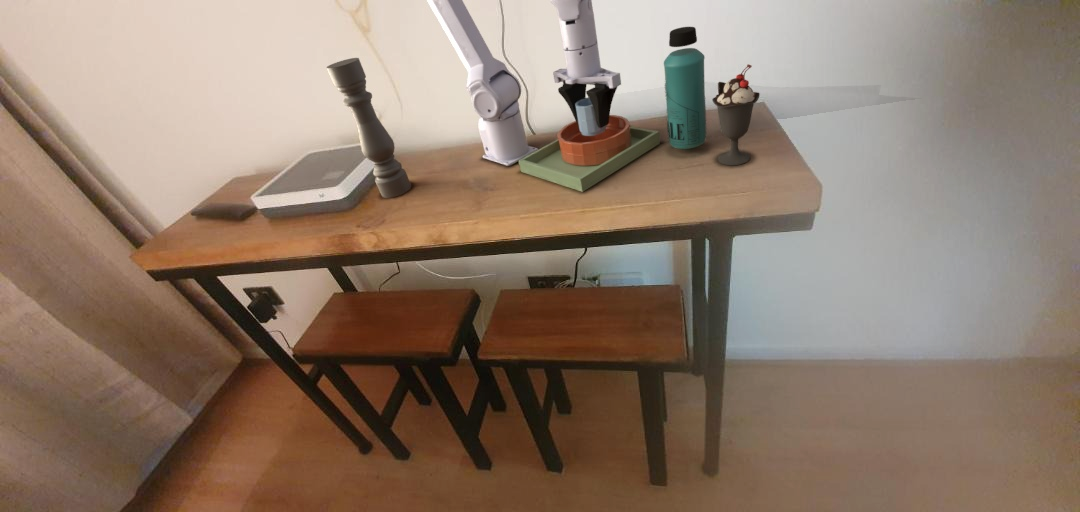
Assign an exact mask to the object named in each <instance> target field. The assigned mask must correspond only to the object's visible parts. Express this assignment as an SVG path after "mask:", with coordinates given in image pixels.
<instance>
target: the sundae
mask: <svg viewBox="0 0 1080 512" xmlns="http://www.w3.org/2000/svg"><path fill="white" fill-rule="evenodd" d="M752 66H753V65H751V64H747V65H746V67H744V69H742V72H741V73H739V74H737V75H736V76H735V78H734V77H733V78H731V79H730V80H728V81H727V82H723V81H719V82H717V90H718V91H717V93H718V94H716V95H715V97H713V98H711V100H712V103H713V104H714V105H715V106H716V108H717V114H718V120H719V127H720V131H721V134H722V135H723V136H724V137H726V138H727V139H729V140H730V148H729V151H727V152H724V153H721V154H720V155H719V156H718V157H717V162H718V163H720V164H721V165H725V166H740V165H741V166H742V165H745V164H746V163H748V162H750V160H751V159H752V158H751V154H749V153H748V152H746V151H742V150H741V151H740V150H739V149H740V148H739V140H740V139H741V138H742V137H744V136H745V135H746V134H747V133H748V131H749V128H750V124H751V119H752V115H753V109H754V106H755V105H754V104H756V103H757V102H758V101H759V99H760V95H761V93H760V92H756V91H754V90H753V89H752V87H750V86H749V85H750V84H749V83H750V82H749V80H748V79H746V78H745V75H746V73H747V71H748V70H750V69H751V68H752Z"/></svg>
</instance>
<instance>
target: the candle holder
mask: <svg viewBox="0 0 1080 512" xmlns="http://www.w3.org/2000/svg"><path fill="white" fill-rule="evenodd" d="M326 70H327V73H328V75H329V77H330V80H331V82H332V84H333V86H334V87H335V88H337V91H338V92H340V93H341V94H342V96H344V99H343V102H342V103H343V105H344V106H346V107H347V108H348V109H350V111H351V114H352V117H353V118H354V121H355V124H356V127H357V132H358V138H359V142H360V148H361V152H362V155H363V156H364V157H365V158H366V159H368V160H369V161H370V162H371V164H372V165H374V166H373V172H372V173H373V176H374V177H375V179H374V182H375V184H376V187H377V188H378V192H379V193H380V195H381V197H382V198H386V199H391V198H395V197H399V196H401V195H404V194H406V193H407V192H408V191H410V189H411V187H412V184H411V181H410V178H409V176H408V174H407V171H406V169H404V168H403V166H402V162H400V161H398V160H397V159H396V158H395V154H394V153H395V142H394V140H393V138H392V137H391V135H390V133H389V132H388V131H387V129H386V128H385V126H384V125H383V123H382V122H381V121H380V119H379V118H378V116H377V113H376V111H375V109H374V106H373V104H372V98H373V94H372V92H370V91H368V90H367V86H366V85H367V80H366V77H367V75H366V72H365V70H364V68H363V65H362V62H361V61H360V58H359V57H352V58H347V59H342V60H339V61H336V62H333V63H331V64H329V65H327V66H326Z"/></svg>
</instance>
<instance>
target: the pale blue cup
mask: <svg viewBox="0 0 1080 512" xmlns="http://www.w3.org/2000/svg"><path fill="white" fill-rule="evenodd" d="M575 107H576V113H577V119H578V124H579V130H580V132H581V134H582V135H584V136H594V135H598V134H601V133H603V132H604V131H605V130H606V126H607V125H606V126H604V127H602V128H599V127H598V125H597V122H596V117H595V112H594V109H593V106H592V103H591V101H590V99H589V97H588V96H587V97H586V98H584V99H581V100H579V101H577V102H576V103H575Z"/></svg>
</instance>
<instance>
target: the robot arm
mask: <svg viewBox="0 0 1080 512" xmlns="http://www.w3.org/2000/svg"><path fill="white" fill-rule="evenodd" d="M426 1H427V3H428V5H429V7H430V9H431V10H432V12H433V14H434V16H435V17H436V19H437V21H438V22H439V24H440V26H441V27H442V28H441V29H443V31H444V33H445V34H446V36H447V38H448V40H449V41H450V43H451V45H452V47H453V49H454V50H455V52H456V54H457V55H458V58H459V59H460V61H461V63H462V64H463V66H464V67H465V69H466V70H467V80H466V90H467V92H468V93H469V96H470V99H471V105H472V108H473V110H474V112H475V113H476V114H477V115H478V116H479V119H478V122H477V123H478V125H477V127H478V129H477V130H478V132H479V136H480V140H481V143H482V146H483V151H484V153H485V154H483V155H482V158H483V159H486V160H488V161H491V162H494V163H497V164H501V165H503V166H507V167H511V166H513V165H514V164H517V162H518V163H519V161H518V160H520V159H522V158H524V157H526V156H528V155H529V154H531V153H533V152H535V151H537V150H539V149H538V148H537V147H534V146H531V145H529V143H528V140H527V135H526V131H525V127H524V122H523V119H522V118H523V117H522V113H521V109H520V104H519V103H520V102H519V99H520V98H521V95H522V85H521V82H520V81H519V79H518V78H517V77H516V76H515V75H514V74H513V73H512V72H511V71H510V70H509V69H508V67H507V66H506V64H505V63H504V62H503V61H501V60H499V59H497V58H495V57H494V56H493V54H492V52H491V50H490V49H489V47H488V45H487V43H486V41H485V39H484V37H483V36H482V34H481V32H480V31H479V28H478V26H477V25H476V23H475V21H474V19H473V17H472V15H471V13H470V12H469V10H468V8H467V6H466V4H465V2H464V1H463V0H426ZM549 1H550V3H551V4H552V5H553V6H554V7H555V8H556V12H557V16H558V24H559V30H560V36H561V42H562V48H563V53H564V59H565V65H566V68H559V69H557V70H554V71H552V75H553V80H554V83H555V84H556V83H557V84H559V83H561V82H562V85H561V86H560V87H558V89H557V91H558V94H560V96H561V97H562V98H563V99H564V101H565V102H566V104H567V105H568V107H569V109H570V112H571V114H572V115H573V119H574V121H576V122H577V123H578V119H577V113H576V107H575V103H576V102H577V101H579V100H581V99H584V98H588V97H589V99H590V101H591V103H592V106H593V109H594V112H595V117H596V122H597V125H598V127H599V128H602V127H604V126H606V125H607V124H609V115H611V107H612V103H613V100H614V97H615V94H616V92H617V89H618V87H619V86H622V79H621V72H615V71H612V70H609V69H606V68H603V67H602V65H601V59H600V51H599V43H598V36H597V29H596V28H597V27H596V20H595V14H594V9H593V2H592V1H593V0H549ZM587 85H590V86H594V87H592V88H590V89H588V90H587ZM586 96H587V97H586Z"/></svg>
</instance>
